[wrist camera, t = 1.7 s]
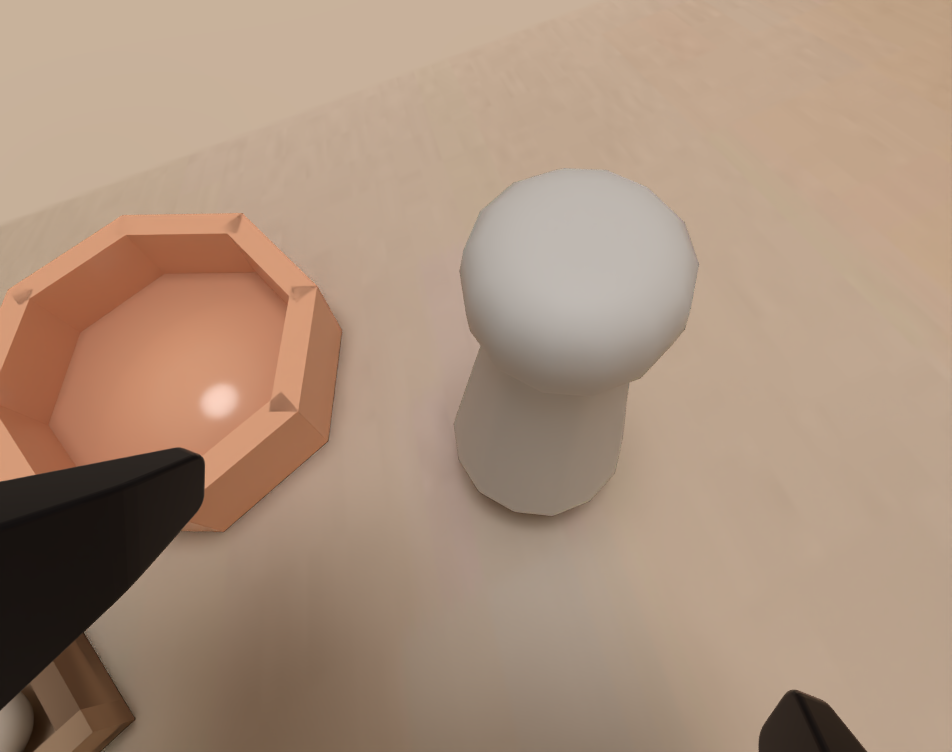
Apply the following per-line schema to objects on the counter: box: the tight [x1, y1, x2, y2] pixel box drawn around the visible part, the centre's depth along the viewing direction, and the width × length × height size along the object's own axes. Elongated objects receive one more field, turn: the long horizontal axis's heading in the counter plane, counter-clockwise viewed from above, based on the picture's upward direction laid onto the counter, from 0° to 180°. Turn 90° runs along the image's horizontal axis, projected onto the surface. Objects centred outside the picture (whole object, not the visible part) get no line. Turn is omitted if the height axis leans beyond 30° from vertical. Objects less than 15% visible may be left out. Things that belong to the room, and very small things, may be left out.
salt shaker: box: [454, 168, 699, 516], centre depth 15 cm, size 6×6×13 cm
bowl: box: [0, 213, 342, 532], centre depth 21 cm, size 12×12×4 cm
